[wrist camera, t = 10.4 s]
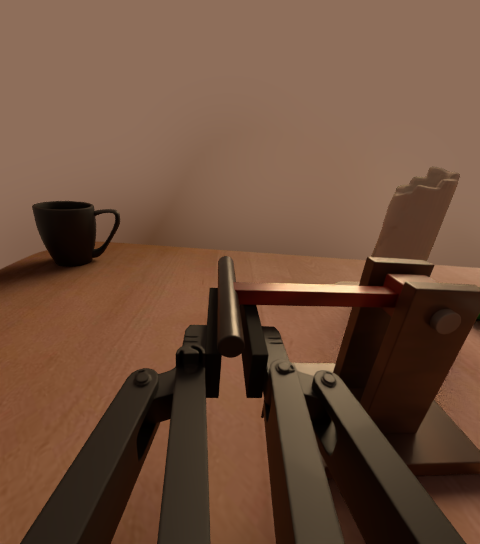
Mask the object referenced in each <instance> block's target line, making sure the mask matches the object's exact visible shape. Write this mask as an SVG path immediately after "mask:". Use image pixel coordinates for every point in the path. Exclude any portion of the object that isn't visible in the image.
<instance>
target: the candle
mask: <svg viewBox="0 0 480 544" xmlns="http://www.w3.org/2000/svg"><path fill="white" fill-rule="evenodd" d="M459 177H460V174H459V173H455V172H453V173H452V172H449V171H447V170H445V169H442V168H438V167H431V168H429V171H428V174H427V176H426V177H414V178H413V179H412V180H411V181H410V183H409V184H408V185H401V186H398V187H397V188H396V192H395V194H394V196H393V198H392V200H391V202H390V204H389V206H388V209H387V213H386V216H385V219H384V222H383V227H382V230H381V233H380V235H379V238H378V241H377V243H376V246H375V248H374V251H373V253H372V255H371V257H378V258H395V259H412V260H425V261H427V259H428V257H429V254H430V252H431V249H432V247H433V245H434V242H435V240H436V237H437V235H438V232H439V230H440V227H441V224H442V222H443V219H444V217H445V214H446V212H447V209H448V207H449V204H450V202H451V200H452V197H453V194H454V192H455V190H456V187H457V184H458V180H459ZM359 283H360V282H336V283H335V284H325V285H353V286H359Z"/></svg>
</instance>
